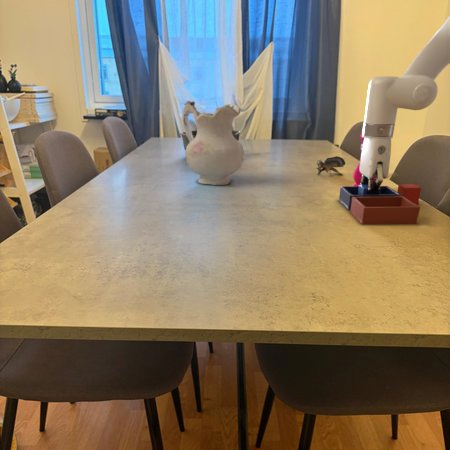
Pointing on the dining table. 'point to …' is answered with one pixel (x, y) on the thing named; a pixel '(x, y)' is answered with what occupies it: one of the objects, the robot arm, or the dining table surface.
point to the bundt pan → (194, 133)
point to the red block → (410, 192)
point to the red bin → (384, 210)
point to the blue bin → (352, 191)
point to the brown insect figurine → (330, 164)
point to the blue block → (363, 189)
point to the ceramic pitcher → (213, 144)
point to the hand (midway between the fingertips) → (367, 201)
